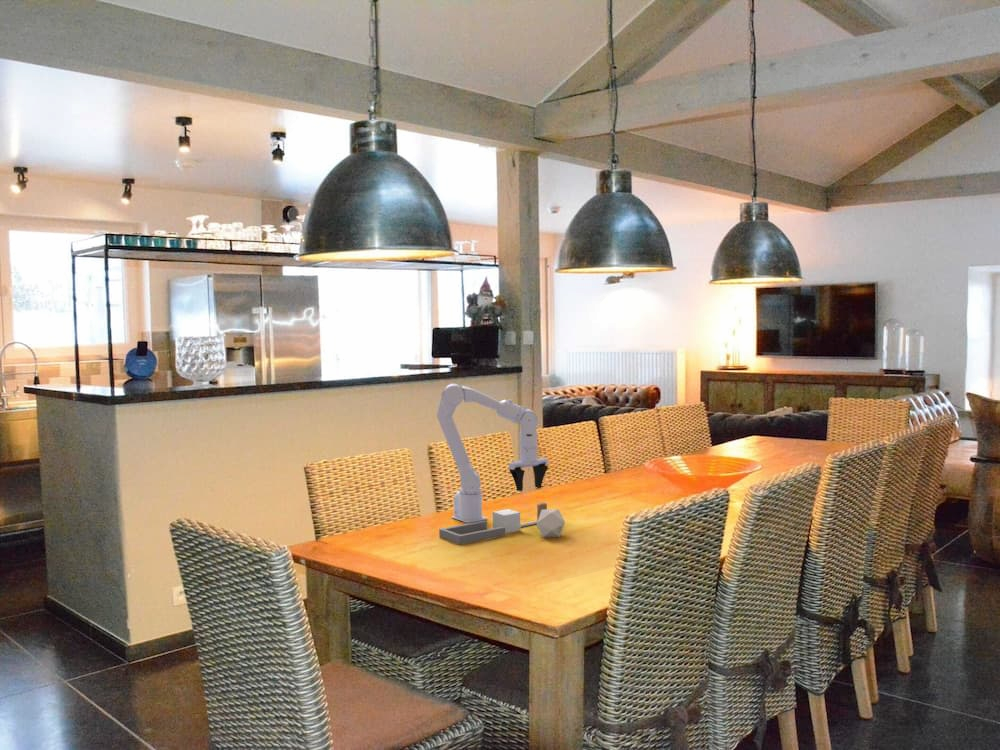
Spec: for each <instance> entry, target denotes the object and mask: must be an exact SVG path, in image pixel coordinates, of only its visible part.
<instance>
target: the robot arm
mask: <svg viewBox="0 0 1000 750" xmlns="http://www.w3.org/2000/svg"><path fill="white" fill-rule="evenodd" d="M463 401H464V404H465V403H476V404H479V405H482V406H484V407H487V408H489V409H491V410H495V411H496V414H497V416H498V417H500V418H502V419H505V420H506V421H509V422H512V423H514V424H519V435H518V436H519V460H516V461H513V462H509V463H508V469H509V470H508V471H509V472H510V474H511V477H512V478H513V481H514V484H515V489H516V490H517V491H518V492H523V488H524V486H523V485H524V484H523V483H524V476H525V475H524V474H525V472H526V471H525V470H523V468H529V467H530V468H531V467H532V469H533V474H534V486H535V488H538V489H540V488H542V484H543V480H544V477H545V475H546V473H547V471H548V467H549V466H548V465H549V458H546V457H541V458H538V433H537V432H538V431H537V430H538V428H537V426H538V424H539V419H538V415H537V413H535V412H534V411H533V410H532V409H531V408H527V407H526V405H523V406H521V405H519V404H516V403H514V401H513V400H512V399H511V398H509V399H503V400H501V401H499V400H497V399H495V398H493V397H492V396H489V395H486V393H485V394H484V393H483V392H480V391H478V390H477V389H474V388H472V387H471V388H470V387H469V386H466V385H460V384H458V383H454V382H452V383H448V384H447V385H446V386H445V388H443V391H442V393H441V395H440V400H439V402H438V407H437V412H436V417H437V420H438V423H439V425H440V427H441V430H442V433H443V435H444V438H445V439H446V442H447V446H448V447H449V451H450V452H451V455H452V457H453V460H454V463H455V465H456V467H457V470H458V471H457V472H458V474H459V476H460V477H459V478H460V487H461V488H460V489H459V490H457V491H456V493H455V494H454V497H453V515H452V516H451V518H452V519H454V520H458V521H460V522H463V523H465V524H469V523H474V522H480V521H486V520H487V521H488V517H486V516H483V497H482V496H483V493H482V489H481V484H482V483H481V482H482V481H481V479H480V475H479V473H478V471H477V470H476V469H474V467H473V465H472V462H471V460H470V457H469V456H468V453H467V450H466V448H465V446H464V443H463V440H462V437H461V435H460V432H459V430H458V428H457V424H456V422H455V420H454V418H453V415H454V413H455V412H456V409H457V408H458V406H459V405H460V404H462V402H463Z"/></svg>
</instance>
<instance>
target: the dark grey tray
mask: <svg viewBox="0 0 1000 750" xmlns="http://www.w3.org/2000/svg"><path fill="white" fill-rule="evenodd" d="M487 521H488V520H487ZM487 521H486V520H481V521H476V522H470V523H464V524H460V525H459V524H458V525H453V526H448V527H442V528H439V534H438V535H439V538H441V539H443V540H446V541H448V542H450V543H453V544H456V545H459V546H461V545H466V544H472V543H475V542H482V541H486V540H491V539H497V538H501V537H506V533H505V527H497V528H493V527H492V528H488V522H487Z"/></svg>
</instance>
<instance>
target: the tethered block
mask: <svg viewBox="0 0 1000 750" xmlns="http://www.w3.org/2000/svg"><path fill="white" fill-rule="evenodd" d="M536 507H537V508H536V509H537V510H536V511H537V516H536V517H537V518H536V519H537V520H533V521H529V522H523V523H521V512H519V511H517V510H512V509H509V508H507V509H502V510H496V511H492V528H497V527H505V534H509V533H512V532H513V533H514V532H517V531H518V532H519V531H521V528H523V527H527V526H533V525H536V524H537V521H538V518H539V516H540V513H541V510H545V509H548V508H547V507H548V504H547V503H545V502H539V503H538V502H537V503H536Z"/></svg>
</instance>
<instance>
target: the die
mask: <svg viewBox="0 0 1000 750" xmlns="http://www.w3.org/2000/svg"><path fill="white" fill-rule="evenodd" d="M536 521H537V520H536ZM565 523H566V520H565V519H564V517H563V515H562V513H561V510H560V509H559V508H557V509H556V508H555V509H553V508H552V509H548V508H547V509H545V510H541V513H540V516H539V518H538V521H537V524H535V525H536V527H537V529H538V532H539V533H540V536H541V537H542V538H560V537H561V534H562V531H563V528H564V526H565Z"/></svg>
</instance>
